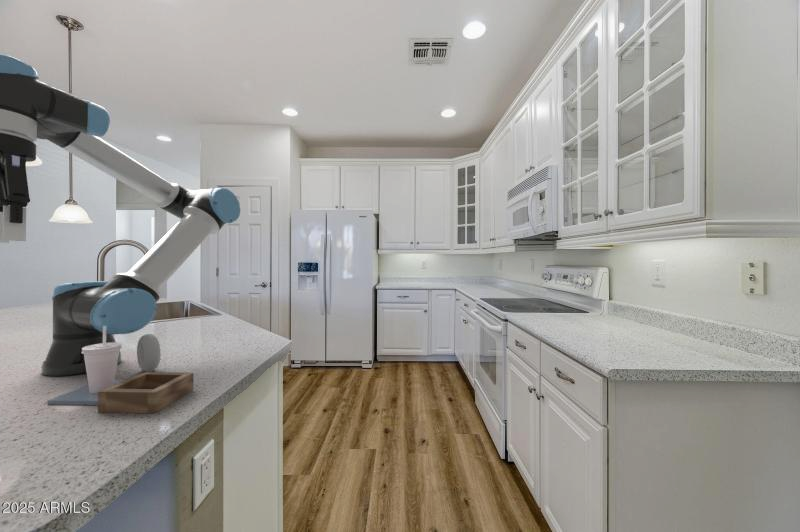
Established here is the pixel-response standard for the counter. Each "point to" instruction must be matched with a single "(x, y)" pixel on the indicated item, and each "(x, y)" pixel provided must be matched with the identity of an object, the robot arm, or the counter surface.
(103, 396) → the collar
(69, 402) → the coaster
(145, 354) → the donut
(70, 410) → the counter surface
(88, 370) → the smoothie
